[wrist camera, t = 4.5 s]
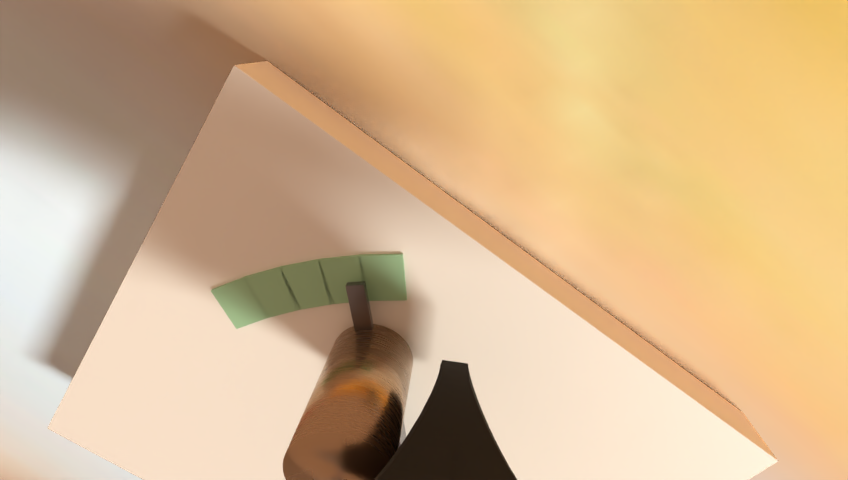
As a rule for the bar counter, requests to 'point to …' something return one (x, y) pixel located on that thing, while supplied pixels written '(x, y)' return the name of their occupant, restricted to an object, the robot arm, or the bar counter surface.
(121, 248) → the bar counter surface
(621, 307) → the bar counter surface
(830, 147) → the bar counter surface
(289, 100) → the board
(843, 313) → the bar counter surface
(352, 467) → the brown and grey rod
